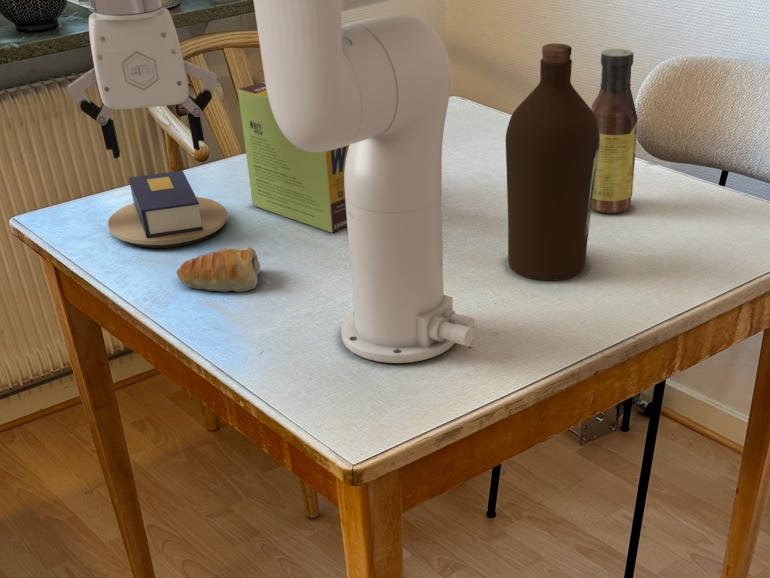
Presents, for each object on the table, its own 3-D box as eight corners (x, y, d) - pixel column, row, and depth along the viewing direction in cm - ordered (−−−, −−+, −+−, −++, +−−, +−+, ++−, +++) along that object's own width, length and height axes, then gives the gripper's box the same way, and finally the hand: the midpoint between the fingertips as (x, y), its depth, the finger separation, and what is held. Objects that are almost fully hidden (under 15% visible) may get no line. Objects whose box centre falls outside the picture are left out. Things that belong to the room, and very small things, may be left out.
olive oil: (514, 287, 118) (520, 62, 103) (494, 250, 126) (497, 37, 111) (601, 279, 120) (619, 57, 104) (576, 243, 128) (590, 32, 112)
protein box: (333, 234, 130) (322, 111, 120) (251, 206, 137) (235, 88, 128) (387, 209, 136) (380, 91, 127) (306, 184, 144) (294, 70, 134)
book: (238, 234, 128) (233, 201, 125) (116, 252, 123) (108, 218, 120) (215, 193, 139) (210, 162, 136) (102, 209, 134) (95, 177, 131)
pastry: (176, 296, 116) (170, 265, 113) (183, 271, 121) (177, 241, 119) (258, 292, 116) (254, 261, 114) (262, 267, 122) (258, 238, 119)
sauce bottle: (639, 210, 136) (655, 55, 124) (599, 218, 134) (612, 61, 122) (614, 194, 141) (627, 43, 129) (575, 201, 139) (585, 49, 127)
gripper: (44, 11, 110) (83, 167, 120) (206, 1, 114) (230, 153, 124) (48, -2, 116) (85, 148, 126) (201, -11, 119) (225, 135, 130)
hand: (157, 150), depth 125 cm, fingers open, 9 cm apart
